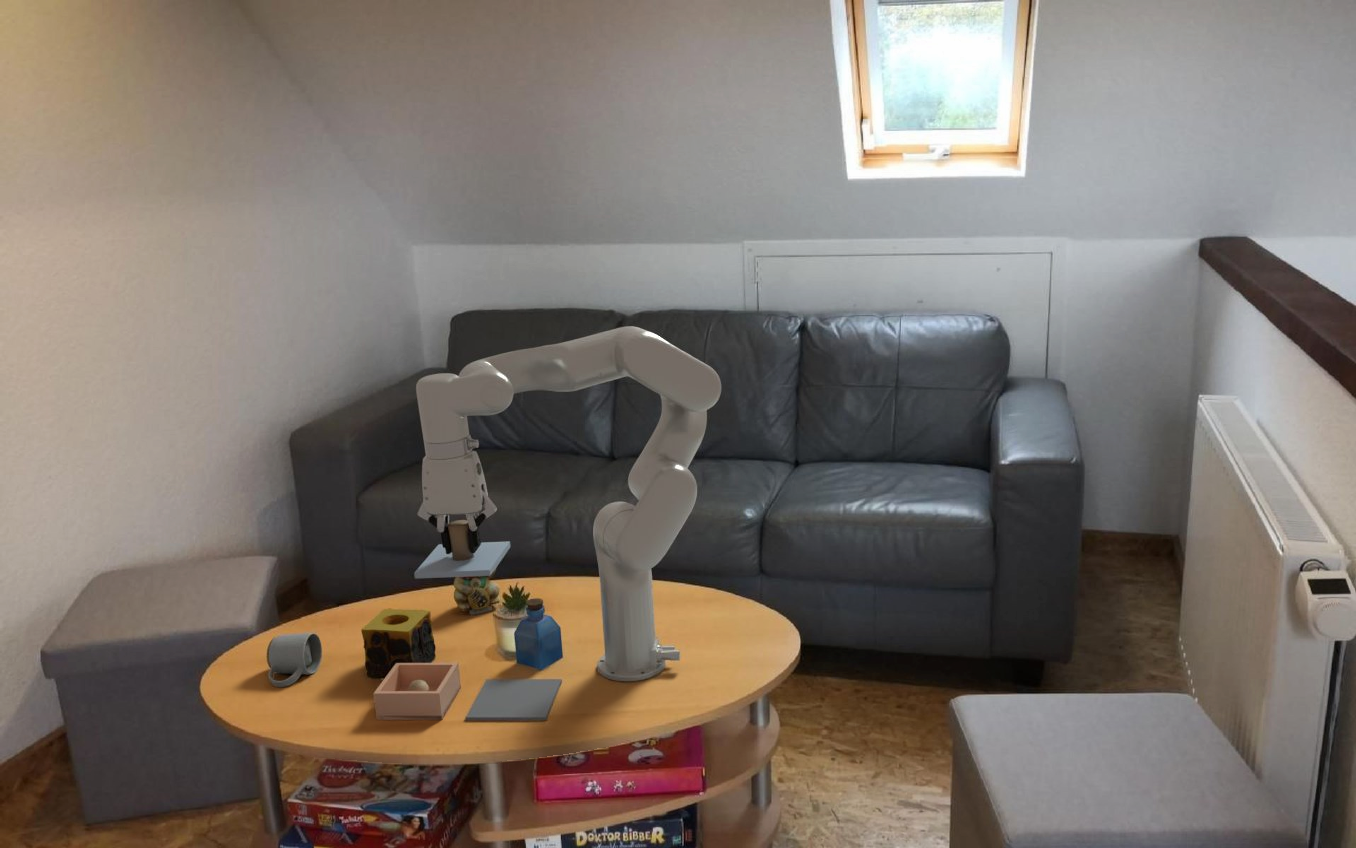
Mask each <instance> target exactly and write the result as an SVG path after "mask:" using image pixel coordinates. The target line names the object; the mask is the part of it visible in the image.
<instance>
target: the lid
mask: <svg viewBox="0 0 1356 848" xmlns="http://www.w3.org/2000/svg"><path fill="white" fill-rule="evenodd" d="M448 530H449V536H450V543H451V550H452V552H451V553H450V554H446V550H445V548H443V546H442V543H441V544H440V543H439V544H438V545H437V546H436V547H435V548H434V549H433V550H432V551H431V552H430V554H429V555H428V556H427V557H426V558H425V560H424V561H423V562H422V563H421V564H420V566H419V567H418V568H417V569H416V570H415V572H414V573H413V574H414V579H433V578H436V579H437V578H456V577H469V576H491V574H492V573H493V571H494V570H495V569H496V570H497V567H498V565H499V564H500V563H501V562H502V560H503V559H504V557H505V555H506V554H507V553H508V551H509V550H510V548H511V541H510V540H509V541H507V540H506V541H488V542H487V541H486V542H483V541H482V542H481V545H480V546H479V548H478V549H477V551H476V552H475V553H470V548H469V541H468V534H467V532H468V531H469V524H468V521H467V519H460V520H459V519H458V520H454V521H451V522H449V524H448Z"/></svg>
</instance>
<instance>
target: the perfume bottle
mask: <svg viewBox="0 0 1356 848" xmlns="http://www.w3.org/2000/svg"><path fill="white" fill-rule="evenodd" d="M526 605H527V606H526V607H525V610H526V615H527V616H526V617H523V618H522V619H521V620H520V621H519V623H518V625H517V626H516V629H515V631H514V632H513V634H514V635H513V636H514V645H515V646H514V647H515V648H514V649H515V658H516V664H518V665H521V666H524V667H525V666H526V667H528V668H532V669H536V670H540V671H543V670H545V669H546V668H548V667H550V666H551V665H553V664H555V663H556V662H558V661H560V660H561V659H563V658H564V652H563V644H562V643H563V641H562V640H563V639H562V631H561V630H562V629H561V628H562V627H561V626H560V625H559V624H558V623H557V622H556V620H555V619H554V618H553V617H552V616H551V615H548V614H545V612H546V610H545V605H544V599H542V598H538V597H537V598H530V599H528V600H526Z"/></svg>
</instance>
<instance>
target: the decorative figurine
mask: <svg viewBox="0 0 1356 848" xmlns="http://www.w3.org/2000/svg"><path fill="white" fill-rule="evenodd" d="M496 572H497V568H496V569H495V570H494V571H493V573H492V574H491V576H469V577H454V580H453V587H454V591H453V600H454V601H455V603H456V605H457V607H458V608H459V609H460V611H463V612H464V611H468V614H469V615H471V616H473V615H479V614H484V613H487V612H491V611H493V606H494V605H496V604H500V602H501V599H500V596H499V594H500V591H501V590H500V588H501V587H500V586H499V585H498V583H496V582H492V581H491V579H492V578H493V577H494V575H495V573H496Z"/></svg>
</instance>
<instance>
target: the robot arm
mask: <svg viewBox="0 0 1356 848" xmlns="http://www.w3.org/2000/svg"><path fill="white" fill-rule="evenodd" d="M625 377H629V378H631V379H633V380H635V381H637V383H639V384H641V385H643V386H645V387H646V388H647V389H649V390H651V391H652V392H655V393H656V394H658V395H659V396H660V400H661V414H660V416H659V421H658V422H657V424H656V427H655V429H654V430H653V432H652V435H651V436H650V438H649V440H648V441H647V443H646V444H645V446H644V448H643V450H642V452H641V453H640V454H639V456H638V457H637V459H636V461H635V462H634V464H633V466H632V468H631V470H630V472H629V473H628V478H627V484H628V488H629V490H630V492H631V493H632V494H633V496H634V497H635V498H636V499H637V500H638V501H637V504H635V505H634V504H632V503H630V502H625V501H614V502H611V503H607V504H605V506H603V507H602V508H601V509H600V510H599V511H598V513H597V514H596V516H595V518H594V522H593V525H592V528H593V529H592V534H593V543H594V548H595V554H596V559H597V564H598V565H597V566H598V574H599V586H600V600H601V601H600V603H601V604H600V605H601V615H602V618H601V619H602V629H603V630H602V631H603V644H604V645H603V646H604V654H602V656H600V658H599V659H598V661H597V664H596V665H597V666H596V667H597V671H598V673H599V674H600V675H601V676H603V677H604V678H606V679H609V680H612V681H617V682H637V681H638V682H639V681H643V680H646V679H650V678H652V677H655V676H656V675H658V674H659V673H660V674H661V672H662V671H663V670H664V669H665V667H666V661H677V662H678V661H679V662H680V660H681V650H680V649H676V647H675V645H663V644H660V638H659V637H656V626H655V623H656V622H655V608H654V594H653V592H654V589H653V587H654V586H653V574H652V568H654V567H655V566H656V565H658V564H659V562H661V561H662V559H663V558H664V557H665V555H666V554H667V552H668V550H669V549H670V548H671V546H672V545H673V543H674V541H675V539H676V537H677V536H678V534H679V532H680V531H681V529H682V528H683V526H684V525H685V523H686V521H687V519H688V517H689V515H690V514H691V512H692V511H693V509H694V506H695V503H696V500H697V496H698V495H697V494H698V484H697V481H696V478H695V476H694V474H693V473H692V472H691V471H690V469H688V468H689V466H690V464H691V462H692V461H693V459H694V457H695V455H696V453H697V451H698V450H699V447H700V446H701V444H702V441H703V439H704V437H705V432H706V429H707V422H708V421H707V420H708V417H707V416H708V412H707V410H710V409H711V408H712V407H714V406H715V405H716V403H717V402H718V401H719V400H720V396H721V393H722V382H721V379H720V376H719V374H718V373H717V371H716V370H715V369H713V368H712V366H710V365H708V364H706V363H705V362H703V361H701V360H700V359H698V358H696V357H694V356H693V355H691V354H689V353H687V352H686V351H683V350H682V349H680V348H679V347H677V346H675V345H673V344H672V343H671V342H669V341H667V340H666V339H664V338H663V337H661V336H659V335H658V334H656V333H654V332H652V331H648V330H646V329H643V328H641V327H637V326H633V325H631V326H630V325H629V326H628V325H627V326H621V327H617V328H614V329H610V330H606V331H602V332H597V333H595V334H591V335H587V336H584V337H579V338H575V339H572V340H568V341H564V342H559V343H555V344H554V343H553V344H546V345H542V346H536V347H529V348H524V349H517V350H512V351H508V352H504V353H499V354H496V355H492V356H488V357H484V358H481V359H478V360H475V361H472V362H470V363H468V364H466V365H465V366H464V367H462V370H460V372H459V373H458V375H457V374H455V373H450V372H449V373H448V372H446V373H443V372H442V373H436V374H434V373H433V374H430V375H429V374H428V375H426V376H423V377H421V378H419V380H418V381H417V382H416V384H415V385H416V387H415V391H416V392H415V393H416V398H417V406H418V412H419V419H420V426H421V431H422V438H423V444H424V452H425V456H424V457H423V458H422V465H421V469H422V470H421V484H422V485H421V486H422V488H421V489H422V499H423V501H422V503H421V505H420V506H419V509H418V511H417V516H418V517H419V518H421V519H423V520H425V521H428V523H430V524H431V525H432V526H434V527H435V528H436V530H437V532H438V533H440V538H441V544H442V546H443V548H445V550H446V554H450V553H451V552H452V550H451V543H450V536H449V530H448V524H449V523H450V516H453V515H455V516H456V515H457V516H458V515H465V517H466V520H467V521H468V524H469V531H468V532H467V534H468V541H469V548H470V553H475V552H476V551H477V549H478V548H479V546H480V545H481V543H482V538H481V533H480V526H481V525H482V524H483V522H484V521H485V520H486V519H488V518H489V517H490V516H492V515H494V514H495V513H496V512H497V510H498V507H497V506H496V504H494V502H493V500H491V498H490V497H489V494H488V489H487V488H488V487H487V483H486V482H487V481H486V478H485V474H484V471H483V467H482V463H481V461H480V457H479V455H478V452H477V451H475V450H473V449H476V448H479V445H480V443H479V439H474V438H472V437H471V434H470V431H469V430H470V429H469V423H468V422H469V421H468V417H470V416H492V415H493V416H494V415H498V414H501V413H502V412H503V411H505V410H506V409H507V408H508V407H509V406H510V405H511V403H512V401H513V398H514V394H515V395H516V394H517V393H518V394H519V393H524V392H529V391H551V392H558V393H559V392H561V393H562V392H563V393H564V392H566V393H567V392H568V393H569V392H575V391H580V390H582V389H583V390H584V389H587V388H589V387H592V386H593V387H594V386H597V385H600V384H604V383H607V382H610V381H611V382H612V381H614V380H618V379H619V380H620V379H622V378H625ZM483 507H484V510H483V511H482V509H483Z"/></svg>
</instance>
